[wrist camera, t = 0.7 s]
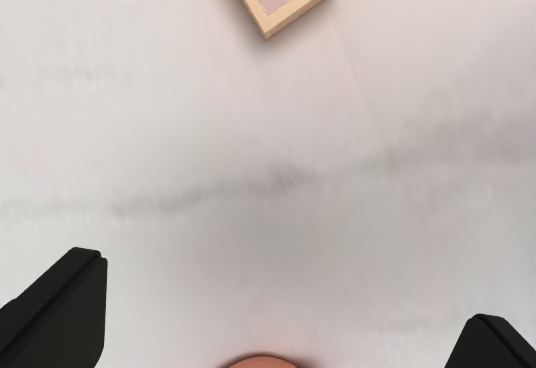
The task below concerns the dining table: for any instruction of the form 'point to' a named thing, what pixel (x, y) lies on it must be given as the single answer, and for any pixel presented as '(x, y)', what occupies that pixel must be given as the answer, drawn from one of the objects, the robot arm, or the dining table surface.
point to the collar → (277, 14)
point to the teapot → (263, 363)
